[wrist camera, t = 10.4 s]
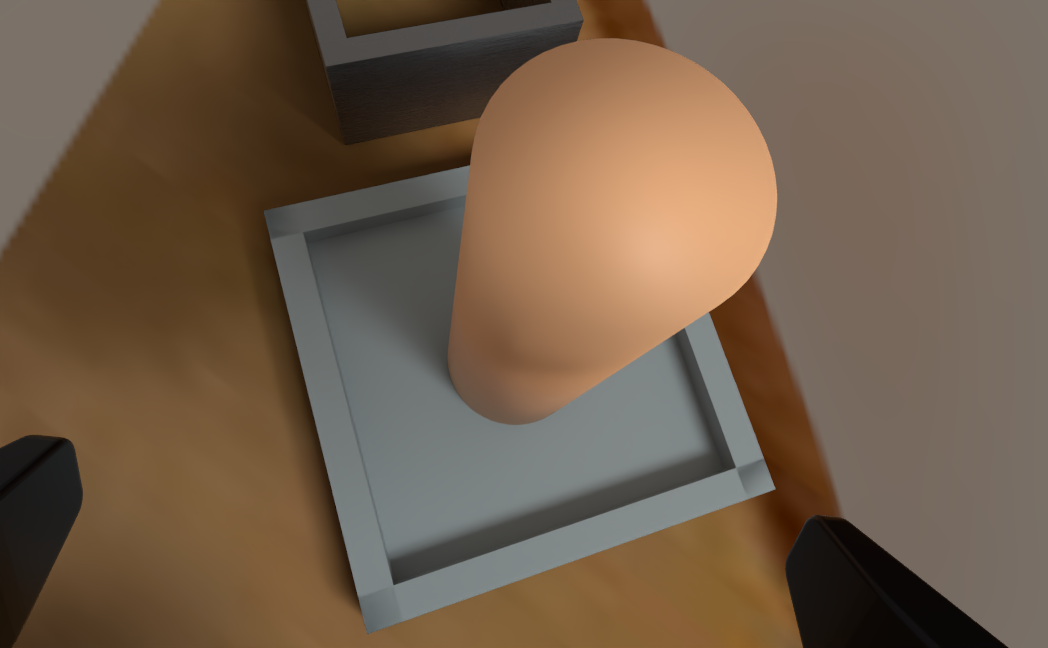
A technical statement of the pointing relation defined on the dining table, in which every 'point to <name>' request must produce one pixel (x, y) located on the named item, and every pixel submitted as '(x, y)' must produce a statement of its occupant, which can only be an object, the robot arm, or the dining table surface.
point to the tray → (470, 439)
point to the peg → (599, 221)
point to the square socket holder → (432, 64)
